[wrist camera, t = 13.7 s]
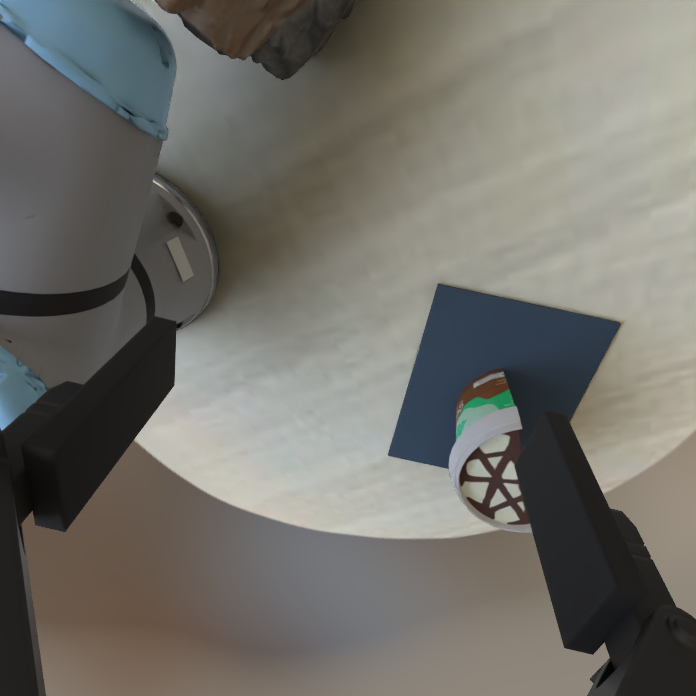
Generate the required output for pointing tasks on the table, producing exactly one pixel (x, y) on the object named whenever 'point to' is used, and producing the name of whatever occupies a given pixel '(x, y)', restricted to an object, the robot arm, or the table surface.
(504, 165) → the table surface
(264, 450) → the table surface
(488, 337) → the mat
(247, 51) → the brown tall lump
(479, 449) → the food container
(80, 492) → the robot arm
